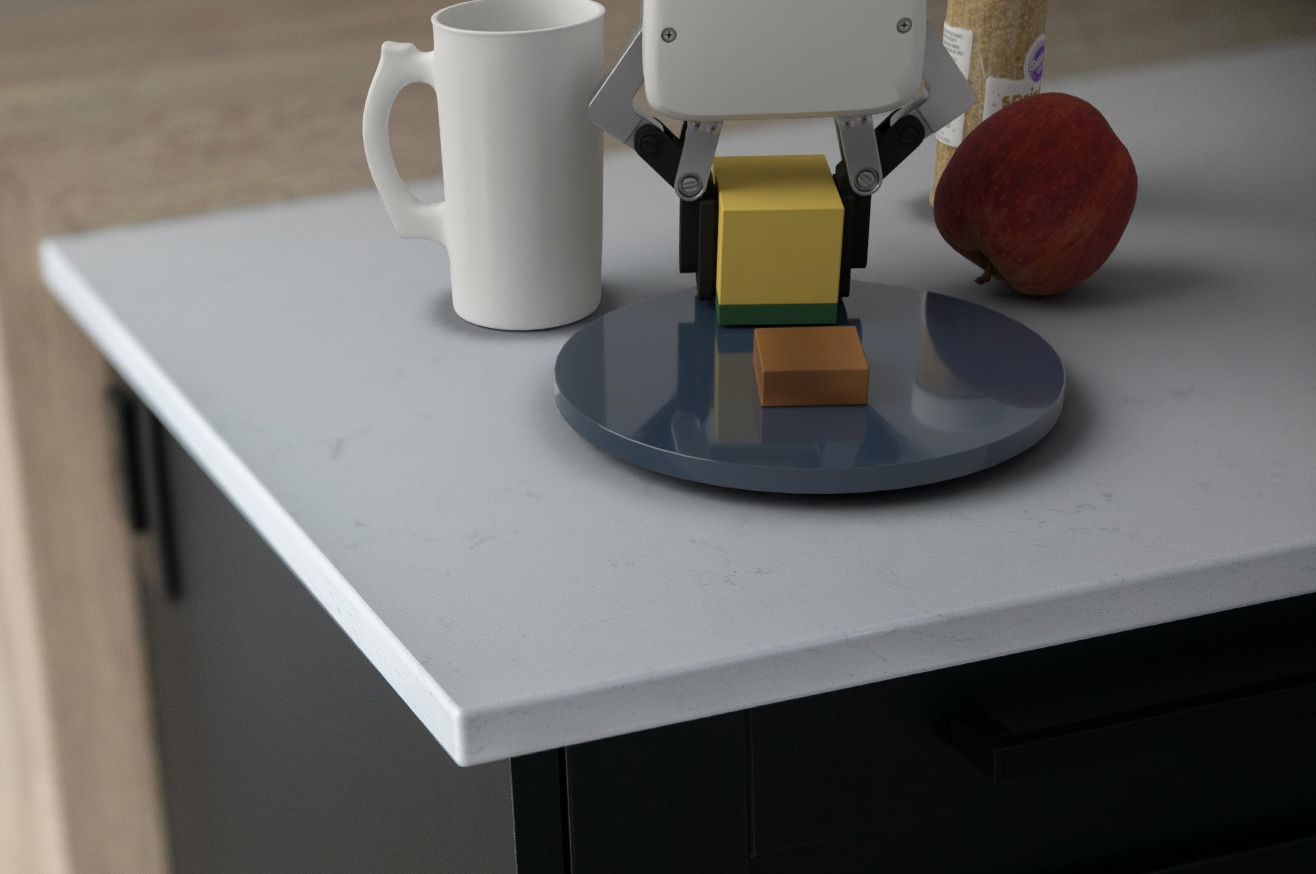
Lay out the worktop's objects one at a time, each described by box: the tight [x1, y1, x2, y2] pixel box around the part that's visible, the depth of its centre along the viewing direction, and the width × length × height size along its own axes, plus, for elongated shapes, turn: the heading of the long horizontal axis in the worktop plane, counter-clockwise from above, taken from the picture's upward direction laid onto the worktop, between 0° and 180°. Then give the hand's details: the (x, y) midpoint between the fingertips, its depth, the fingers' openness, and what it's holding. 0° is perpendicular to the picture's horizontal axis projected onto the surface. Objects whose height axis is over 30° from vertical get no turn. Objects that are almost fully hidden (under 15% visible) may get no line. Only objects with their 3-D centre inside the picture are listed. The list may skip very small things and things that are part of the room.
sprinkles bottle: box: [928, 0, 1049, 208], centre depth 83 cm, size 5×5×14 cm
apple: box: [932, 91, 1139, 296], centre depth 74 cm, size 7×8×8 cm
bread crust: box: [753, 326, 870, 407], centre depth 65 cm, size 4×4×1 cm
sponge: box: [711, 153, 844, 325], centre depth 72 cm, size 7×4×4 cm, turn 174°
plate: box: [553, 280, 1066, 495], centre depth 68 cm, size 18×18×2 cm
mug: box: [362, 0, 607, 331], centre depth 76 cm, size 10×7×12 cm, turn 74°
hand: (770, 282), depth 73 cm, fingers closed on sponge, 4 cm apart
